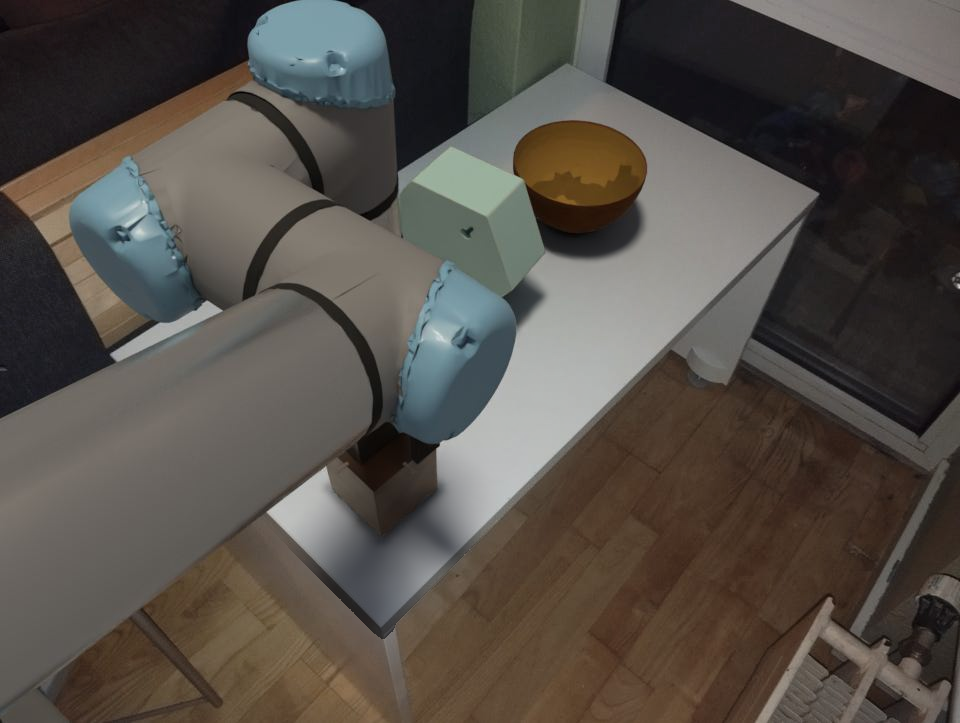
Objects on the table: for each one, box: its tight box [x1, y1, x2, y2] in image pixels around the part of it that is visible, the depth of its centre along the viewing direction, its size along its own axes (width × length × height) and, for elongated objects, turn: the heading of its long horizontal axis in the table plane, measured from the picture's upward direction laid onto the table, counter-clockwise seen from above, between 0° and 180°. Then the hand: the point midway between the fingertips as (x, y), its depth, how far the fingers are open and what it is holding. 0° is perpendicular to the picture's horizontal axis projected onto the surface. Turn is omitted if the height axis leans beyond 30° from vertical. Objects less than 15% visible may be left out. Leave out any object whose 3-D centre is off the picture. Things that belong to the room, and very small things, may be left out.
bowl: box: [512, 119, 648, 234], centre depth 105 cm, size 18×18×10 cm
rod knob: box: [346, 422, 401, 465], centre depth 71 cm, size 6×2×7 cm, turn 136°
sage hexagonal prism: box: [399, 146, 546, 298], centre depth 93 cm, size 17×8×21 cm
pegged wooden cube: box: [325, 432, 438, 538], centre depth 78 cm, size 10×10×10 cm
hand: (374, 406), depth 70 cm, fingers open, 13 cm apart
